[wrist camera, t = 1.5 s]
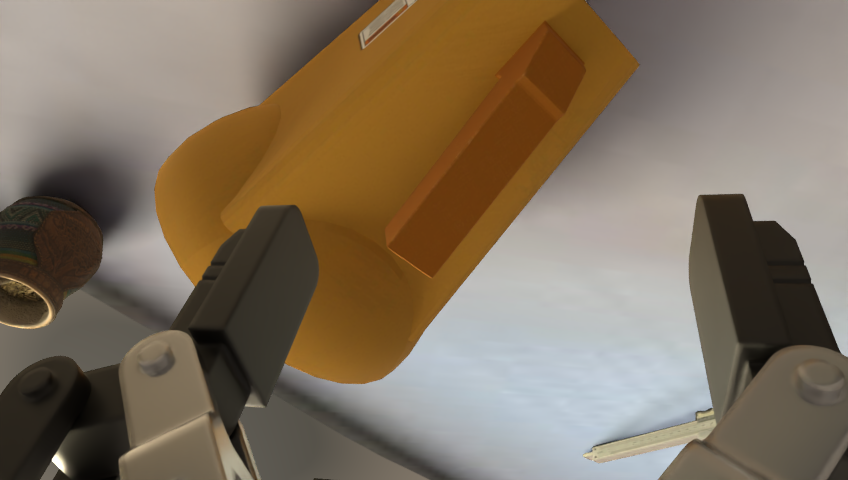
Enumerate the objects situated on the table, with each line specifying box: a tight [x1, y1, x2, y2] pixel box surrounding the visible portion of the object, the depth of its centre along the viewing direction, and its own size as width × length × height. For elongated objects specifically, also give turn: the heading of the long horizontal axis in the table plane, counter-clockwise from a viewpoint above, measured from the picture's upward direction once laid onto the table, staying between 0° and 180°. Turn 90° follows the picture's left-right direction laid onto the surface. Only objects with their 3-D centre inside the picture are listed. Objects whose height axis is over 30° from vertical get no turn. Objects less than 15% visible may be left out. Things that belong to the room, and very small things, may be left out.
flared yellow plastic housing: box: [154, 0, 639, 384], centre depth 33 cm, size 20×17×18 cm
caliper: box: [583, 408, 716, 463], centre depth 60 cm, size 20×1×6 cm, turn 143°
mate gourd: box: [0, 196, 103, 329], centre depth 43 cm, size 7×8×10 cm
